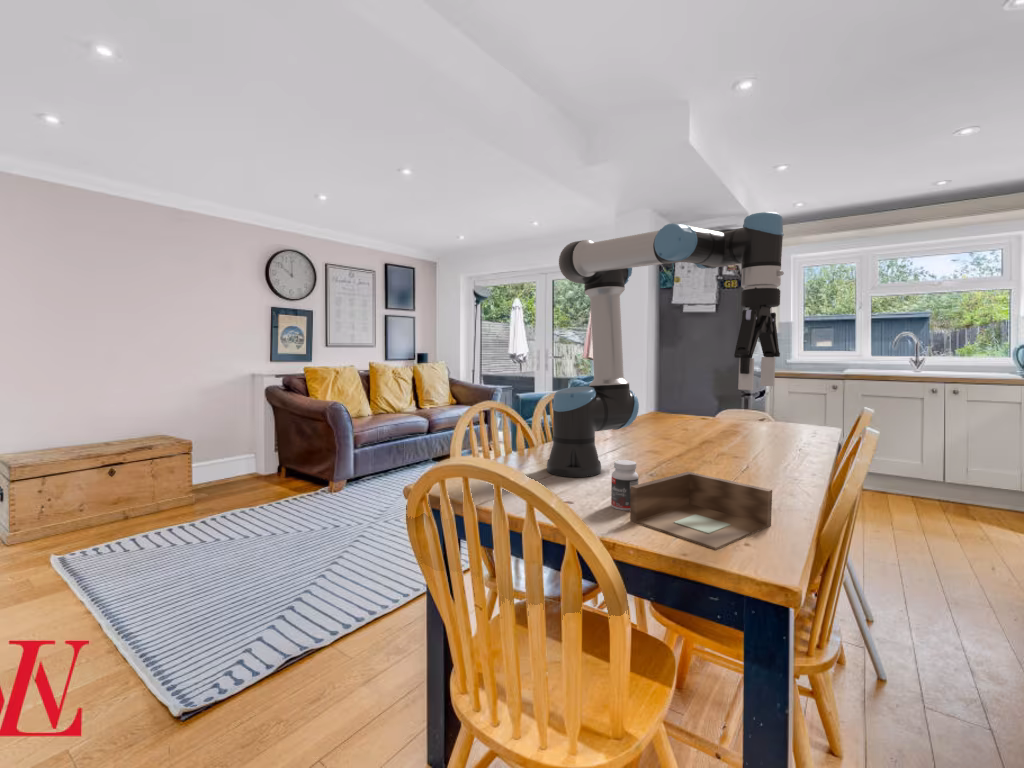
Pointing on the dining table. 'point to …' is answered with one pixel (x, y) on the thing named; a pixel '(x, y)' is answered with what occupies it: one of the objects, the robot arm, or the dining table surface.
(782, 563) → the dining table surface
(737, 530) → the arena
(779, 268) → the robot arm
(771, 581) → the dining table surface
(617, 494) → the pill bottle
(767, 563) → the dining table surface
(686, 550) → the dining table surface
